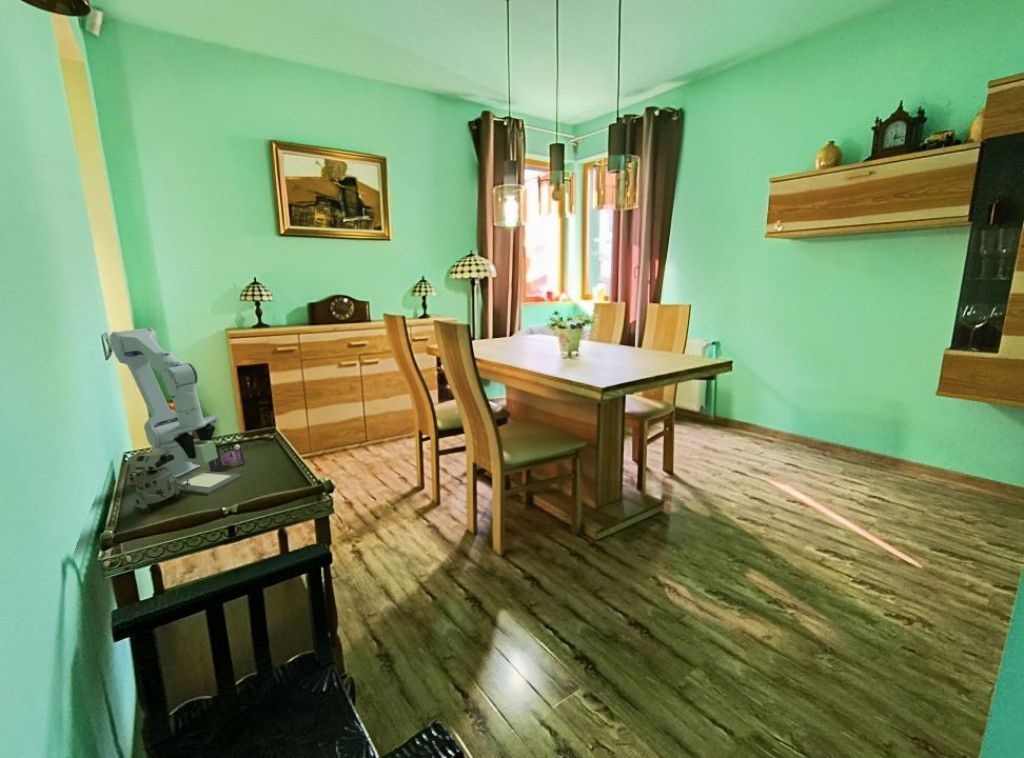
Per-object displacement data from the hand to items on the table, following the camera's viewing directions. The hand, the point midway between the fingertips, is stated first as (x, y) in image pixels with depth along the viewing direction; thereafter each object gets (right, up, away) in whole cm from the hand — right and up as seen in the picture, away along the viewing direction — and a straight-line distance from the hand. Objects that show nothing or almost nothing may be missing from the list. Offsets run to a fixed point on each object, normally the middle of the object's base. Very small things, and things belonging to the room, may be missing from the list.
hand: (199, 454), depth 133 cm
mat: (0, -8, +2) cm, 8 cm away
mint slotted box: (0, -1, 0) cm, 1 cm away
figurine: (-2, -12, -10) cm, 16 cm away
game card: (+1, -6, +12) cm, 14 cm away
